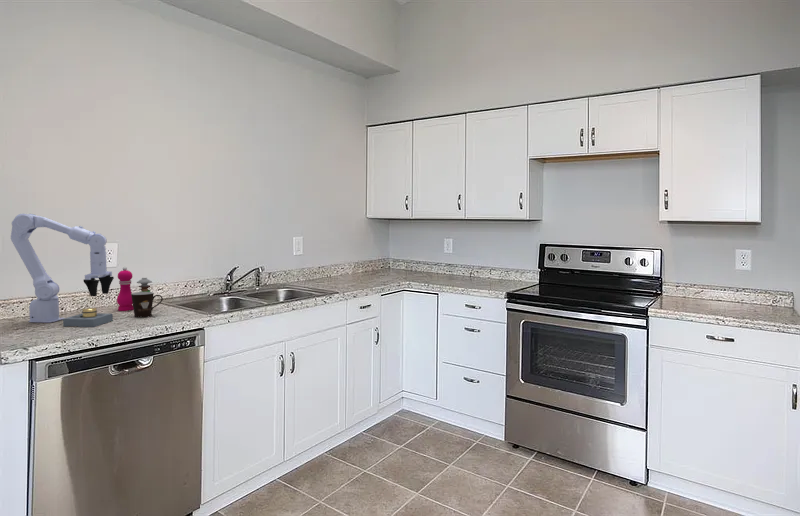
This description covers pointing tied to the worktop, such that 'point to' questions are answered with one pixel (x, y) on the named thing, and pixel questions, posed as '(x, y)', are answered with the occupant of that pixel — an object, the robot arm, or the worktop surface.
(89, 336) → the worktop surface
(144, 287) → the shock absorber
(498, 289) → the worktop surface
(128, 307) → the pepper mill
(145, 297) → the coffee mug
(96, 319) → the bore block
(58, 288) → the robot arm
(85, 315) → the cylinder
